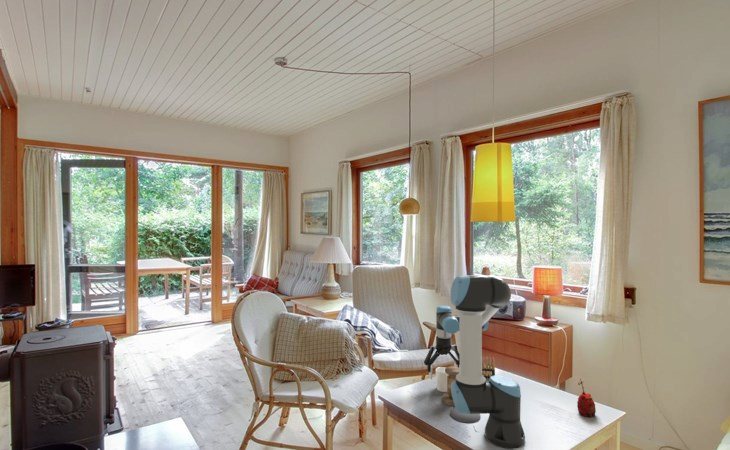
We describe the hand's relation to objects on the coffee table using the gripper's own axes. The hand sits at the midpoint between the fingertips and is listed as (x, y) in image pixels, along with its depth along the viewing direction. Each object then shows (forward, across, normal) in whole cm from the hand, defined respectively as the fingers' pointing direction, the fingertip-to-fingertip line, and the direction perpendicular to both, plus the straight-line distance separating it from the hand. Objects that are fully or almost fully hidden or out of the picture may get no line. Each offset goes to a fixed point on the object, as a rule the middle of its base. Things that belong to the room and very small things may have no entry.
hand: (443, 377), depth 195 cm
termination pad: (+6, 0, +26) cm, 27 cm away
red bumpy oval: (+6, -54, +34) cm, 64 cm away
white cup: (+6, 0, 0) cm, 6 cm away
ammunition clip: (+7, -28, -10) cm, 30 cm away
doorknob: (+6, 0, +14) cm, 15 cm away
